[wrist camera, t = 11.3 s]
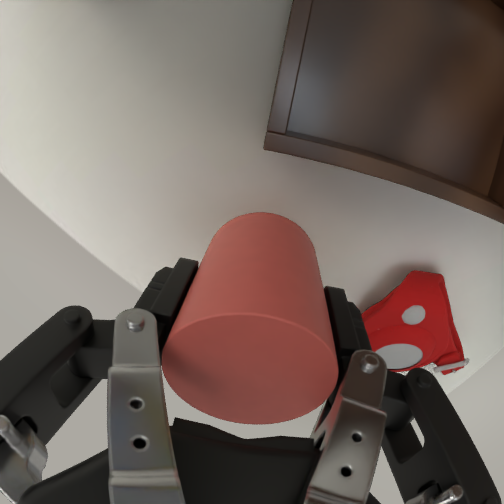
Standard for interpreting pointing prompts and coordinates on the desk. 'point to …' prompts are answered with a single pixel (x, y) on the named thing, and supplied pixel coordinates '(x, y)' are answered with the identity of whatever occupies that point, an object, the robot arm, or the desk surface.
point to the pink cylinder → (254, 326)
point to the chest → (398, 94)
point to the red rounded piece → (415, 326)
